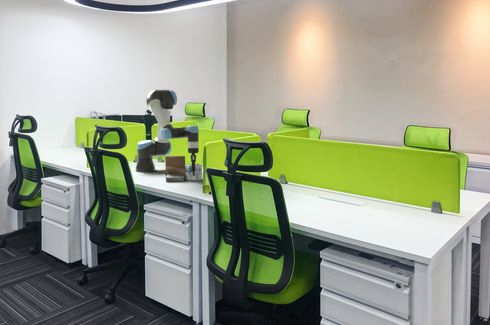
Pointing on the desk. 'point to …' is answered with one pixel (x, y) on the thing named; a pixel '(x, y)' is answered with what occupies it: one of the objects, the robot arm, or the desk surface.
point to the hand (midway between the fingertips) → (193, 178)
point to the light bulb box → (189, 173)
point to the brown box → (175, 168)
